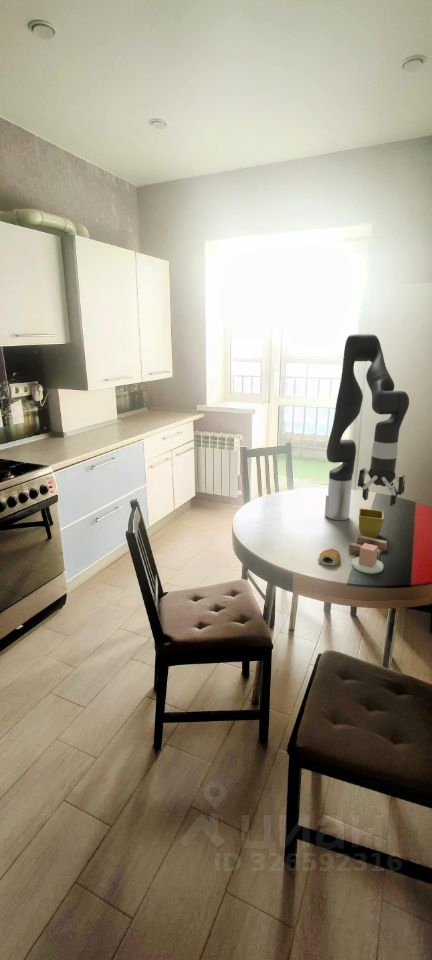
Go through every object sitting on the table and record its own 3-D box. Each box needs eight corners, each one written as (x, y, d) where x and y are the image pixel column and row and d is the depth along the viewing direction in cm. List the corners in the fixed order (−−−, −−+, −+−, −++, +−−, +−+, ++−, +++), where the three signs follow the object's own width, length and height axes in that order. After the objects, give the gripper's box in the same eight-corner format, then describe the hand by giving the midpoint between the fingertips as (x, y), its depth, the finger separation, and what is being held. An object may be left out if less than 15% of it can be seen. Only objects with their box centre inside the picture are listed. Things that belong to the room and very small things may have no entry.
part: (358, 564, 146) (360, 547, 144) (363, 559, 149) (364, 542, 147) (372, 567, 143) (373, 551, 141) (376, 562, 146) (378, 546, 145)
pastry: (324, 552, 157) (325, 542, 155) (343, 556, 154) (344, 546, 152) (317, 563, 149) (318, 553, 148) (337, 568, 146) (338, 558, 145)
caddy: (348, 552, 156) (349, 544, 155) (358, 542, 163) (359, 534, 162) (377, 560, 150) (378, 551, 149) (386, 549, 158) (387, 541, 157)
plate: (347, 567, 145) (347, 565, 145) (357, 556, 153) (357, 553, 153) (377, 576, 140) (378, 574, 139) (387, 564, 147) (387, 561, 147)
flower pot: (381, 532, 172) (383, 510, 170) (381, 541, 164) (383, 518, 162) (357, 529, 175) (359, 508, 172) (356, 538, 167) (358, 516, 165)
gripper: (357, 453, 141) (353, 501, 146) (404, 461, 133) (397, 510, 138) (366, 449, 147) (361, 494, 152) (411, 455, 139) (404, 503, 144)
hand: (378, 502), depth 145 cm, fingers open, 8 cm apart
